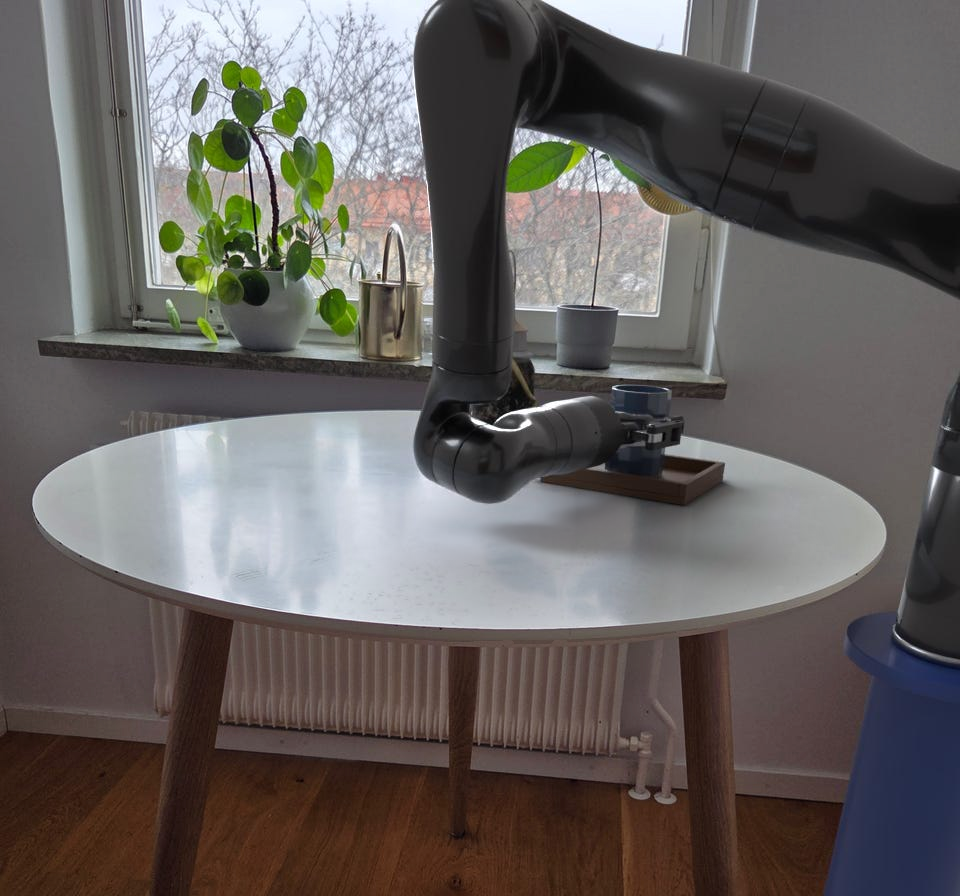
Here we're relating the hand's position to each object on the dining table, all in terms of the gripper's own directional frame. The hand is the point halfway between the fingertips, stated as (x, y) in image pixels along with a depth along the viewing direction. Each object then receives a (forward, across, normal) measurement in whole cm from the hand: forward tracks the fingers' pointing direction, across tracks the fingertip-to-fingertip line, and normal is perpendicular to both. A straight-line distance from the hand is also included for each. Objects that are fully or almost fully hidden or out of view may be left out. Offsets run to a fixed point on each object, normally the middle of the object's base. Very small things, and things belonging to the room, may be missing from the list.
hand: (647, 419), depth 110 cm
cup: (-2, 0, +6) cm, 7 cm away
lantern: (-5, +18, +7) cm, 20 cm away
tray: (-2, 0, +7) cm, 7 cm away
